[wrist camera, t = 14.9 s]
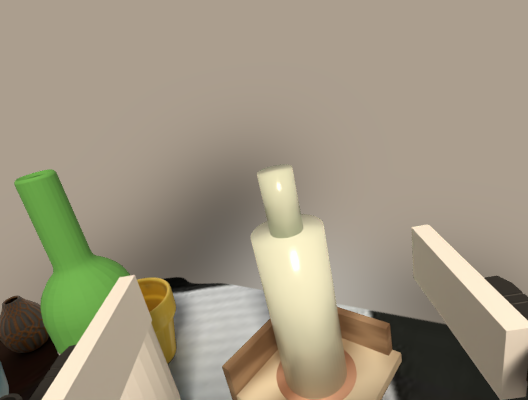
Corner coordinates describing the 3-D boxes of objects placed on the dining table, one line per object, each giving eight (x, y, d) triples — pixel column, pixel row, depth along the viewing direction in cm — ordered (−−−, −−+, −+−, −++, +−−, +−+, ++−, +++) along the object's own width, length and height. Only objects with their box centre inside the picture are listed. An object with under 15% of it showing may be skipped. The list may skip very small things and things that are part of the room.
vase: (58, 323, 62) (37, 281, 59) (57, 345, 56) (33, 300, 53) (13, 342, 59) (-11, 299, 56) (8, 367, 54) (-20, 322, 51)
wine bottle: (152, 495, 32) (2, 195, 22) (101, 460, 37) (-44, 194, 26) (205, 421, 38) (107, 157, 28) (156, 398, 43) (55, 161, 32)
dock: (232, 399, 40) (222, 366, 39) (301, 322, 50) (295, 293, 48) (342, 472, 31) (335, 433, 29) (401, 361, 40) (398, 326, 39)
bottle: (272, 381, 40) (220, 182, 31) (306, 340, 44) (269, 157, 36) (326, 410, 35) (281, 187, 27) (358, 361, 40) (328, 158, 31)
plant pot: (198, 326, 53) (179, 272, 50) (177, 385, 44) (152, 322, 40) (135, 333, 55) (113, 280, 52) (101, 391, 45) (71, 331, 42)
